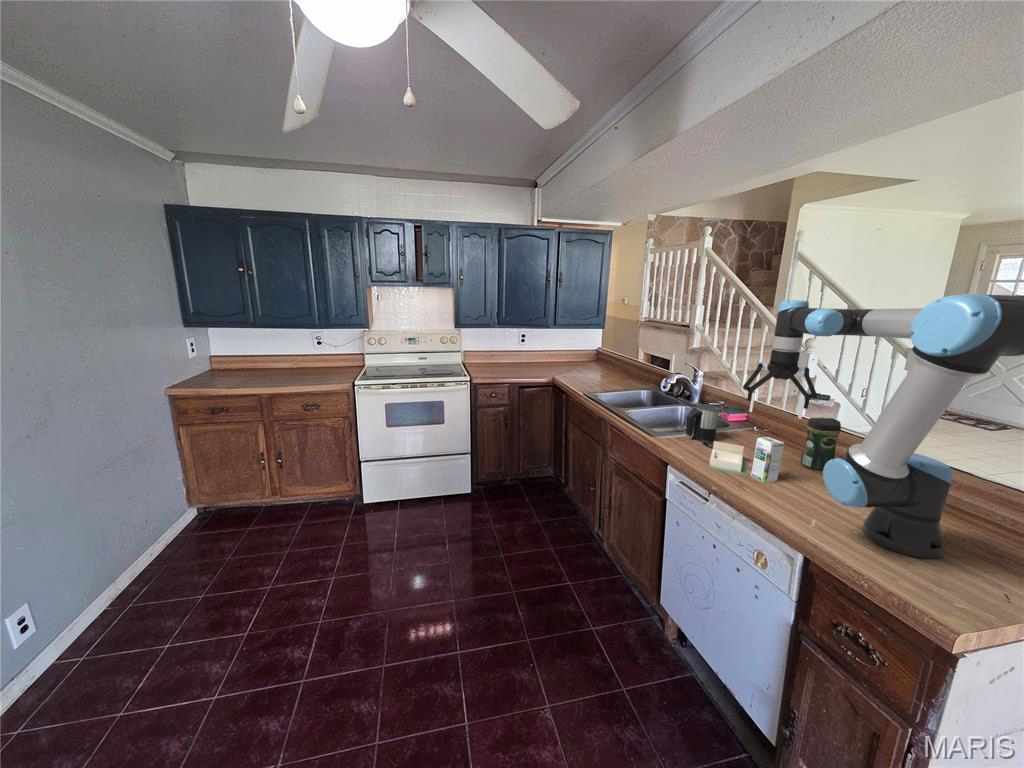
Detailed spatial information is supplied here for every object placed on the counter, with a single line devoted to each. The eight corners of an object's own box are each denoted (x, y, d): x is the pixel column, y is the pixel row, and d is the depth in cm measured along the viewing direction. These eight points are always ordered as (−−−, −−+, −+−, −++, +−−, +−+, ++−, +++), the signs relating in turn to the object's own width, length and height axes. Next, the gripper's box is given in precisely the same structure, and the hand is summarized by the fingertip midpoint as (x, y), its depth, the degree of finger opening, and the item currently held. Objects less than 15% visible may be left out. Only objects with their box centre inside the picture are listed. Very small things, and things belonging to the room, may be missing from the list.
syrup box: (749, 477, 141) (756, 437, 138) (763, 475, 143) (769, 436, 139) (764, 484, 136) (771, 443, 132) (777, 482, 137) (785, 442, 134)
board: (746, 477, 141) (747, 476, 141) (708, 469, 147) (708, 468, 146) (747, 461, 154) (747, 460, 154) (712, 454, 160) (712, 453, 160)
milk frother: (700, 434, 183) (704, 402, 179) (735, 446, 170) (740, 412, 166) (680, 440, 175) (684, 407, 172) (715, 452, 162) (720, 417, 159)
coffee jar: (821, 462, 155) (831, 415, 151) (837, 471, 147) (847, 422, 143) (795, 461, 155) (804, 414, 151) (809, 470, 148) (819, 421, 143)
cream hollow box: (740, 472, 143) (743, 456, 142) (709, 466, 148) (711, 450, 147) (741, 461, 153) (743, 446, 152) (711, 455, 158) (713, 440, 156)
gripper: (833, 352, 126) (819, 417, 131) (741, 345, 138) (732, 405, 143) (837, 355, 120) (823, 424, 125) (740, 347, 132) (731, 410, 137)
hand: (774, 414), depth 134 cm, fingers open, 13 cm apart
